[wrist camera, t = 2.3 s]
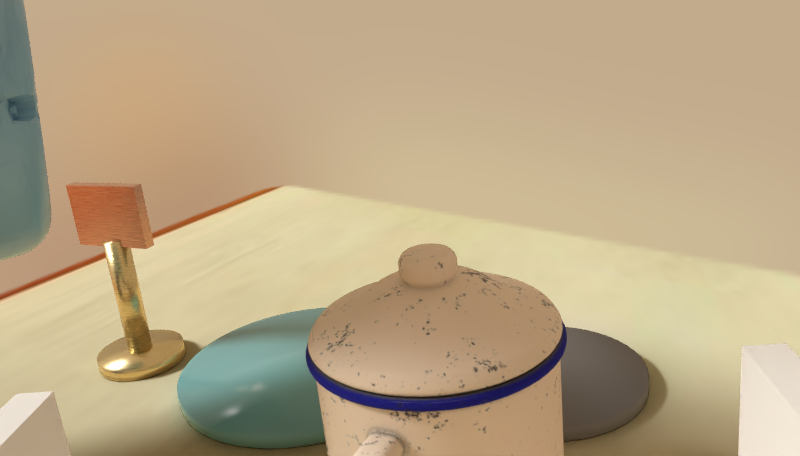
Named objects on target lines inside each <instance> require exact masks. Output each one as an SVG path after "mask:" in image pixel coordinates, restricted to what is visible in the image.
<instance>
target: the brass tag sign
mask: <svg viewBox="0 0 800 456" xmlns="http://www.w3.org/2000/svg"><path fill="white" fill-rule="evenodd" d="M66 188H67V192H68V196H69V199H70V204H71V208H72V212H73V216H74V220H75V224H76V228H77V232H78V236H79V240H80V244H82V245H98V246H104V250H105V254H106V258H107V263H108V267H109V271H110V275H111V279H112V284H113V288H114V292H115V296H116V300H117V305H118V309H119V313H120V317H121V321H122V326H123V330H124V334H125V337H123V338H121V339H118V340H116V341H114V342H112V343H111V344H109V345H108V346H106V347H105V348H104V349H103V350H102V351H101V352H100V353H99V354H98V357H97V361H98V365H99V369H100V373H101V375H102V376H103V377H104V378H106V379H108V380H112V381H122V382H124V381H135V380H141V379H145V378H149V377H152V376H155V375H158V374H160V373H163V372H165V371H167V370H169V369H170V368H172V367H174V366H175V365H177V364H178V363H179V362H180V361H181V360H182V359H183V357H184V355H185V347H184V342H183V338H182V336H181V335H180V334H179V333H177V332H174V331H170V330H150V331H149V327H148V323H147V319H146V314H145V310H144V305H143V301H142V296H141V292H140V288H139V283H138V279H137V274H136V270H135V265H134V261H133V257H132V252H131V248H143V249H147V248H149V247H151V246H153V245H154V243H153V238H152V234H151V229H150V225H149V220H148V215H147V210H146V206H145V201H144V196H143V192H142V188H141V184H120V183H119V184H118V183H71V184H69V185H66Z"/></svg>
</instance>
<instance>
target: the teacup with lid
mask: <svg viewBox="0 0 800 456" xmlns="http://www.w3.org/2000/svg"><path fill="white" fill-rule="evenodd" d="M398 266H399V271H397V272H395V273H393V274H390V275H389V276H387V277H385V278H383V279H381V280H380V281H378V282H375V283H372V284H369V285H366V286H363V287H361V288H359V289H356V290H354V291H352V292H350V293H348V294H346V295H344V296H343V297H341V298H339V299H338V300H336V301H335V302H334V303H332V304H331V305H330V306H328V307H327V308H326V309H325V310H324V311H323V312H322V313H321V315H320V316H319V317H318V318H317V320H316V321H315V323H314V325H313V327H312V329H311V332H310V334H309V338H308V343H307V347H306V363H307V366H308V369H309V371H310V373H311V374H312V376H313V377H314V379H315V380H316V382H317V389H318V395H319V402H320V408H321V415H322V421H323V428H324V435H325V441H326V448H327V454H328V456H564V445H563V417H562V389H561V362H560V359H561V358H562V356H563V354H564V351H565V349H566V344H567V332H566V328H565V325H564V323H563V321H562V319H561V316H560V314H559V312H558V310H557V308H556V307H555V306H554V304H553V303H552V302H551V300H550V299H548V298H547V297H546V296H545V295H544V294H543V293H541V292H540V291H539V290H537V289H535V288H534V287H532V286H530V285H528V284H526V283H524V282H521V281H518V280H516V279H512V278H509V277H505V276H501V275H496V274H491V273H484V272H479V271H476V270H473V269H470V268H467V267H463V266H457V257H456V255H455V253H454V252H453V251H452V249H451V248H449V247H447V246H445V245H441V244H421V245H417V246H413V247H411V248H408V249H407V250H405V251H404V252H403V253H402V254H401V256H400V258H399V261H398Z"/></svg>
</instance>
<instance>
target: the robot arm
mask: <svg viewBox="0 0 800 456" xmlns="http://www.w3.org/2000/svg"><path fill="white" fill-rule="evenodd" d="M50 223H51V204H50V194H49V186H48V177H47V169H46V162H45V154H44V147H43V139H42V132H41V125H40V118H39V113H38V107H37V95H36V89H35V82H34V71H33V64H32V56H31V48H30V42H29V35H28V29H27V21H26V14H25V8H24V2H23V0H0V261H1V260H5V259H8V258H12V257H16V256H20V255H23V254H25V253H27V252H29V251H31V250H32V249H34V248H35V247H36V246H38V245H39V244H40V243H41V242H42V240H43V239H44V238H45V236H46V235H47V233H48V231H49V228H50ZM0 456H71V454H70V450H69V447H68V443H67V439H66V436H65V432H64V428H63V425H62V421H61V418H60V414H59V410H58V407H57V403H56V399H55V396H54V392H53V391H52V392H36V393H21V394H16V395H15V396H14V397H13V398H12V399H10V400H9V401H8V402H7V403H6V404H5V405H4V406H3V407H2V408H1V409H0ZM738 456H800V358H799V357H798V356H797V354H796V353H795V352H794V351H793V350H792V349H791V348H790V347H789V346H788V345H787V344H786V343H782V344H766V345H751V346H742V361H741V390H740V420H739V449H738Z"/></svg>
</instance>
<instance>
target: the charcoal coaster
mask: <svg viewBox="0 0 800 456" xmlns="http://www.w3.org/2000/svg"><path fill="white" fill-rule="evenodd" d="M565 328H566V332H567V344H566V349H565V351H564V354H563V356H562V358H561V359H560V362H561V389H562V417H563V441H571V440H580V439H585V438H590V437H594V436H598V435H601V434H604V433H607V432H610V431H612V430H615V429H617V428H619V427H621V426H622V425H624V424H626V423H628V422H629V421H630V420H632V419H633V418H634V417H636V416H637V414H638V413H639V412H640V411H641V410H642V409H643V407H644V406H645V404H646V401H647V399H648V392H649V374H648V369H647V367H646V364H645V362H644V361H643V360H642V358H641V357H640V356H639V355H638V354H637V353H636V352H635V351H634V350H632V349H631V348H630V347H628V346H627V345H625V344H623V343H621V342H620V341H618V340H615V339H613V338H611V337H608V336H605V335H602V334H599V333H596V332H592V331H588V330H582V329H577V328H569V327H565Z"/></svg>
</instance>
